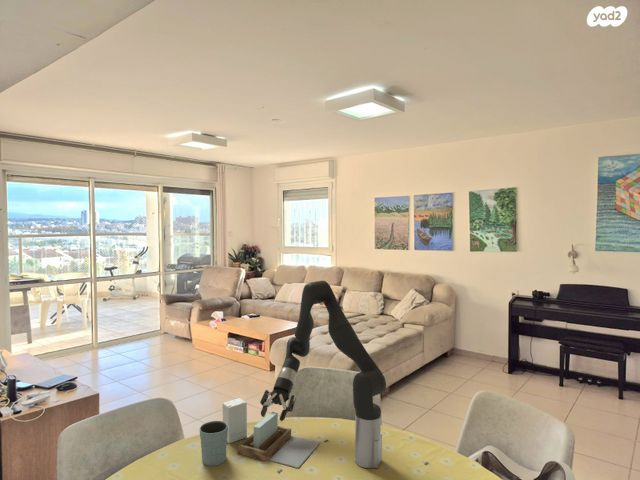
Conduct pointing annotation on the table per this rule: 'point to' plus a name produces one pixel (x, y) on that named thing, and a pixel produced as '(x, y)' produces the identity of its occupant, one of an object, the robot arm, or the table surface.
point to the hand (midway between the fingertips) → (271, 418)
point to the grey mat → (294, 452)
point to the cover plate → (265, 429)
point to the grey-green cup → (213, 442)
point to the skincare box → (235, 419)
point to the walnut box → (265, 444)
